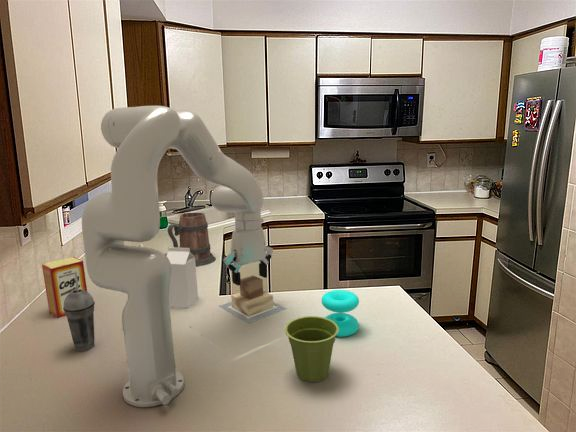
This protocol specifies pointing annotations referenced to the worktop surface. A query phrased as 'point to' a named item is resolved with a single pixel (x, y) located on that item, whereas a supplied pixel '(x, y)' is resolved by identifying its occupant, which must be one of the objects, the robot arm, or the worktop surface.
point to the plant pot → (312, 346)
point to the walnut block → (251, 287)
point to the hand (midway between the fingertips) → (250, 280)
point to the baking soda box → (62, 282)
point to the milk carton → (182, 278)
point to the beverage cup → (80, 317)
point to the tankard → (193, 237)
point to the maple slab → (252, 303)
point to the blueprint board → (254, 317)
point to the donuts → (342, 310)
